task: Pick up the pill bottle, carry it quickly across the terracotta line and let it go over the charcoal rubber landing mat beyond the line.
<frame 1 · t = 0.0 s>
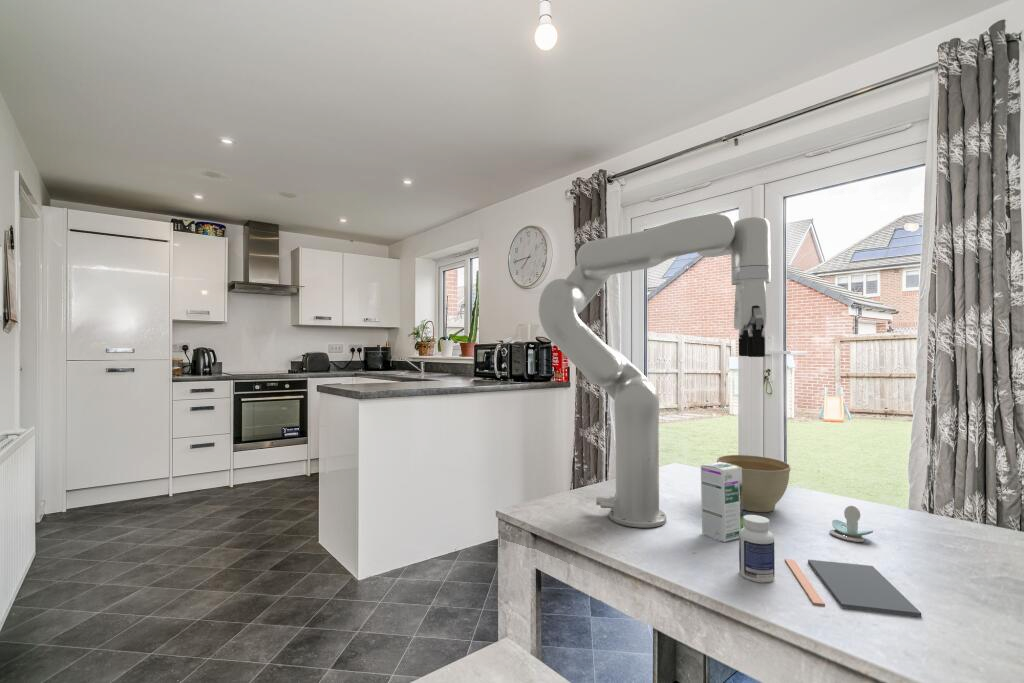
hand: (751, 356, 107), 37 cm above the table, tool pointing down, fingers open, 9 cm apart
planter bowl: (752, 507, 121), on the table
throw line: (803, 581, 82), on the table
pacifier: (849, 538, 102), on the table
syrup box: (722, 536, 102), on the table
landing mat: (858, 587, 80), on the table
pill bottle: (756, 577, 84), on the table
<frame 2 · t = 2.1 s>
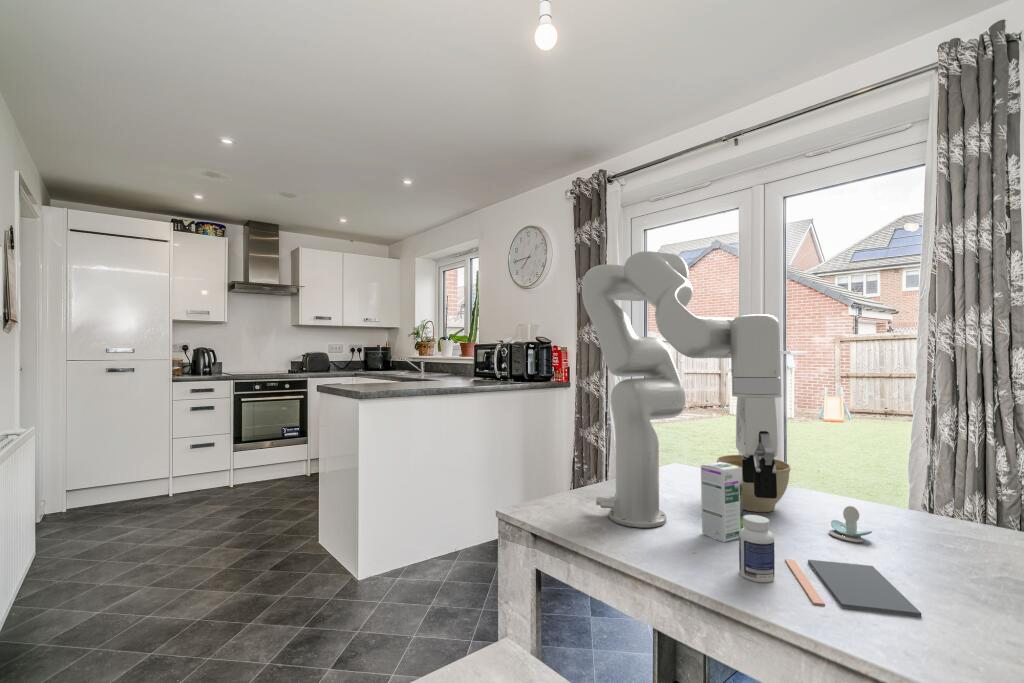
hand: (758, 489, 84), 15 cm above the table, tool pointing down, fingers open, 9 cm apart
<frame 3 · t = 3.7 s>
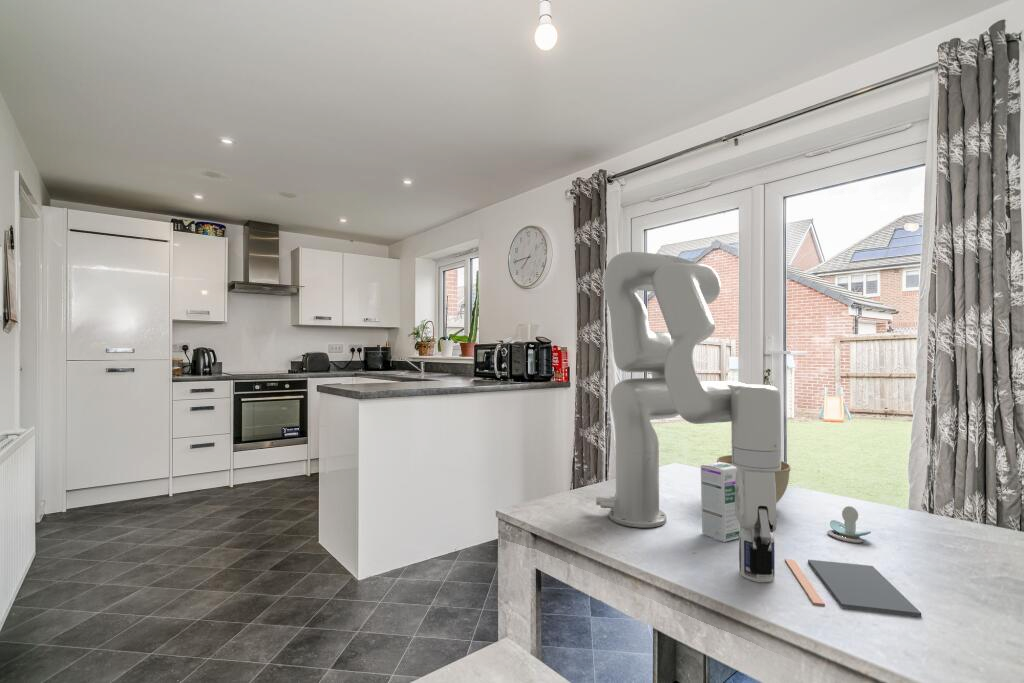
hand: (756, 564, 84), 2 cm above the table, tool pointing down, fingers closed on pill bottle, 5 cm apart
pill bottle: (756, 577, 84), on the table, touching gripper
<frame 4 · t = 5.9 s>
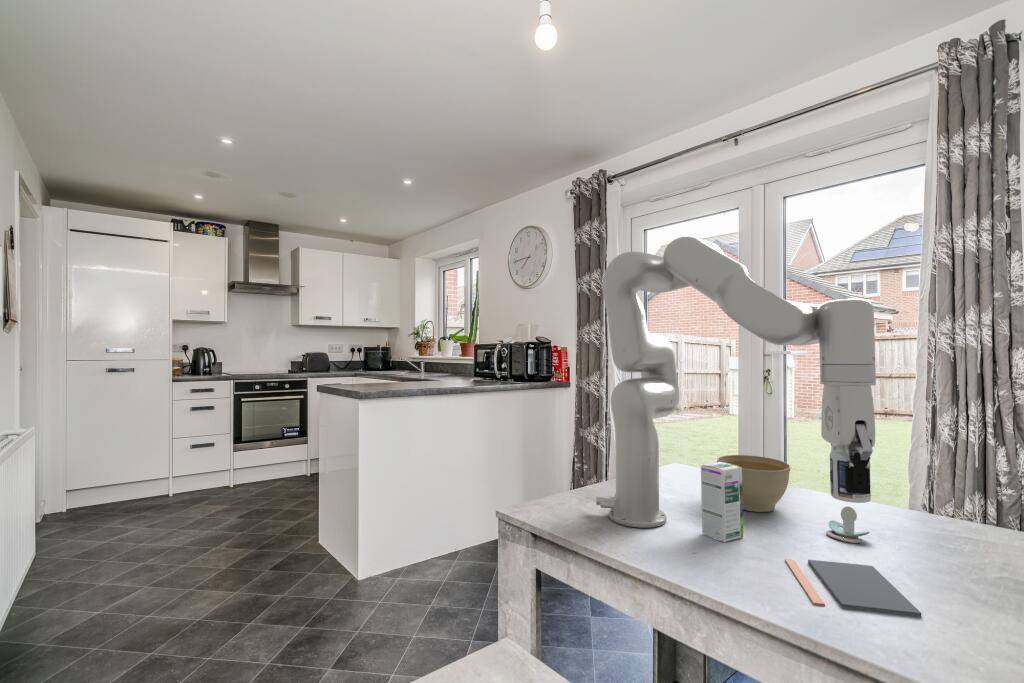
hand: (850, 486, 81), 16 cm above the table, tool pointing down, fingers closed on pill bottle, 5 cm apart
pill bottle: (850, 500, 80), point 14 cm above the table, touching gripper
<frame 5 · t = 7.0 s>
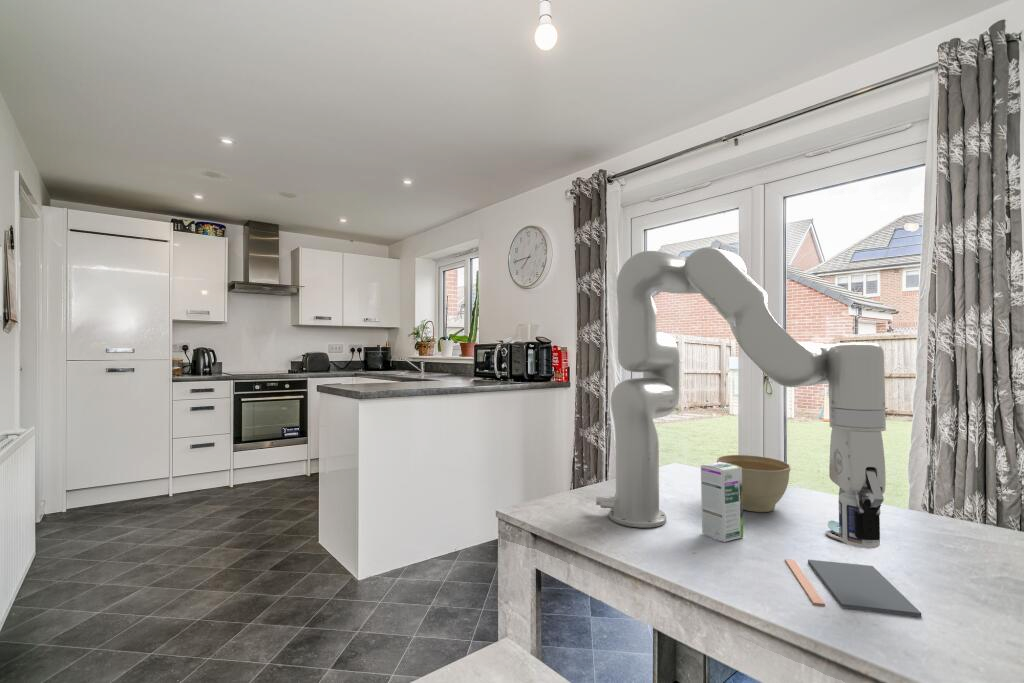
hand: (859, 530, 80), 9 cm above the table, tool pointing down, fingers closed on pill bottle, 5 cm apart
pill bottle: (859, 544, 80), point 7 cm above the table, touching gripper
when the fingers open (4 cm above the table, at t = 8.1 s): pill bottle drops 2 cm, resting on landing mat.
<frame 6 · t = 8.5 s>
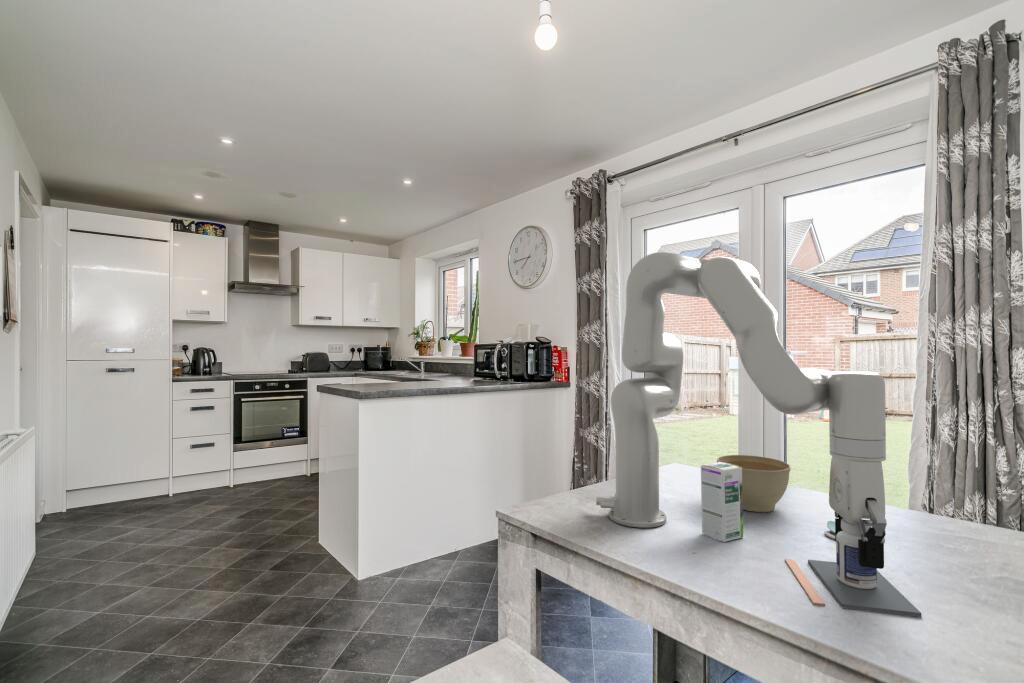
hand: (858, 554, 80), 5 cm above the table, tool pointing down, fingers open, 9 cm apart
pill bottle: (856, 583, 81), resting on landing mat
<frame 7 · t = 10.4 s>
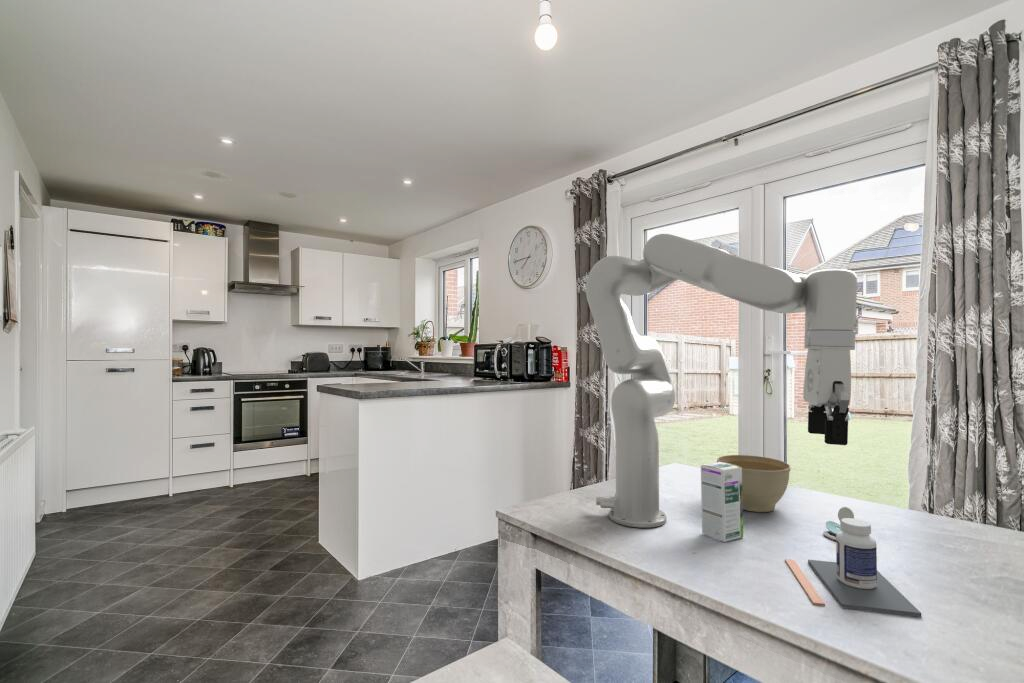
hand: (826, 438, 87), 23 cm above the table, tool pointing down, fingers open, 9 cm apart
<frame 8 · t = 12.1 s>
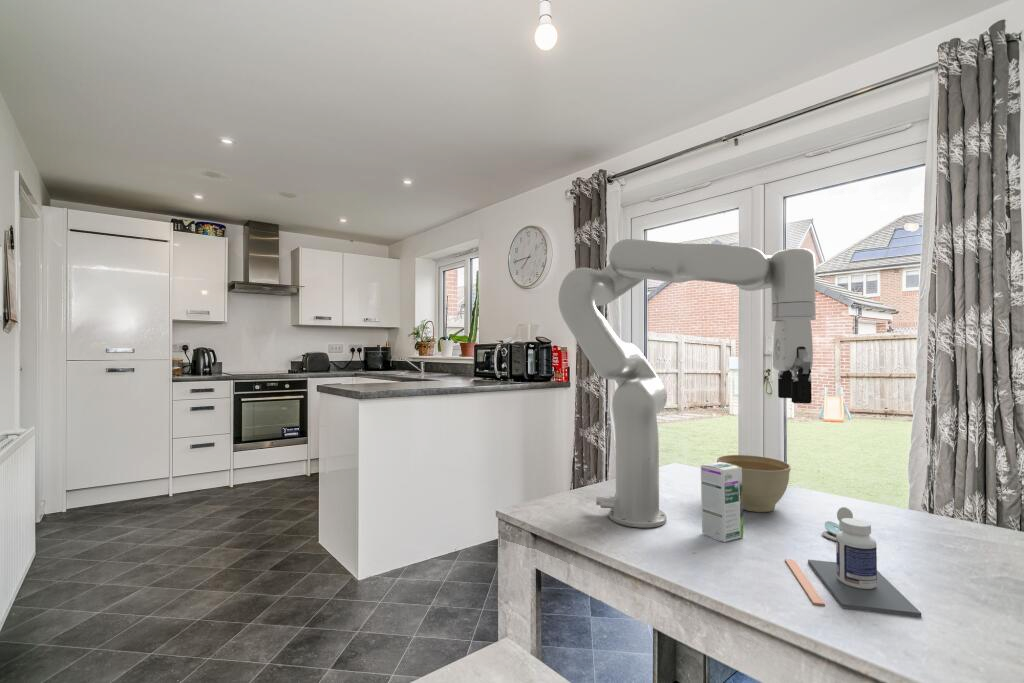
hand: (793, 400, 97), 28 cm above the table, tool pointing down, fingers open, 9 cm apart
at the end: pill bottle inside the target area (1.5 cm from its centre), resting on landing mat; the gripper is holding nothing; pill bottle moved 14.8 cm from its start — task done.
